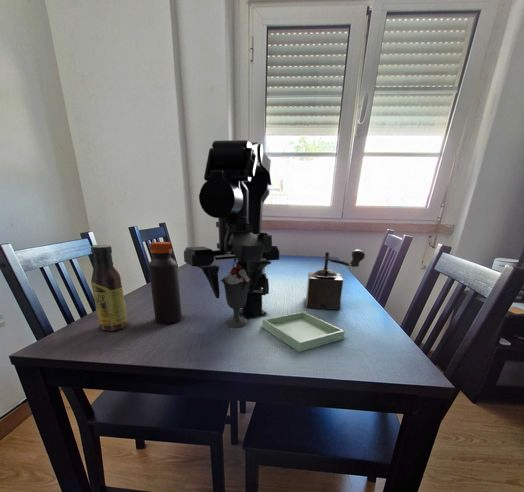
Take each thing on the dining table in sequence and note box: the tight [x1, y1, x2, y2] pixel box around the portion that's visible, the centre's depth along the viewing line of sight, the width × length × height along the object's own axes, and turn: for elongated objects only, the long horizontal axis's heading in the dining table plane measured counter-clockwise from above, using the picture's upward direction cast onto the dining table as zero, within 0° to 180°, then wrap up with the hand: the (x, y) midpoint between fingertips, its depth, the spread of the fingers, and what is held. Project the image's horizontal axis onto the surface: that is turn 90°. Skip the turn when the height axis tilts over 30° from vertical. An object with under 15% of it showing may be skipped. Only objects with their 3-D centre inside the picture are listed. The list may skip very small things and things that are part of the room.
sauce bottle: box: [90, 244, 128, 332], centre depth 66 cm, size 7×6×20 cm
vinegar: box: [148, 241, 183, 325], centre depth 72 cm, size 7×7×20 cm
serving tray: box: [262, 311, 346, 353], centre depth 69 cm, size 15×13×2 cm
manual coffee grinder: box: [305, 249, 366, 310], centre depth 87 cm, size 16×11×18 cm
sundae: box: [220, 258, 252, 329], centre depth 60 cm, size 7×7×15 cm
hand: (234, 295), depth 59 cm, fingers closed on sundae, 7 cm apart
